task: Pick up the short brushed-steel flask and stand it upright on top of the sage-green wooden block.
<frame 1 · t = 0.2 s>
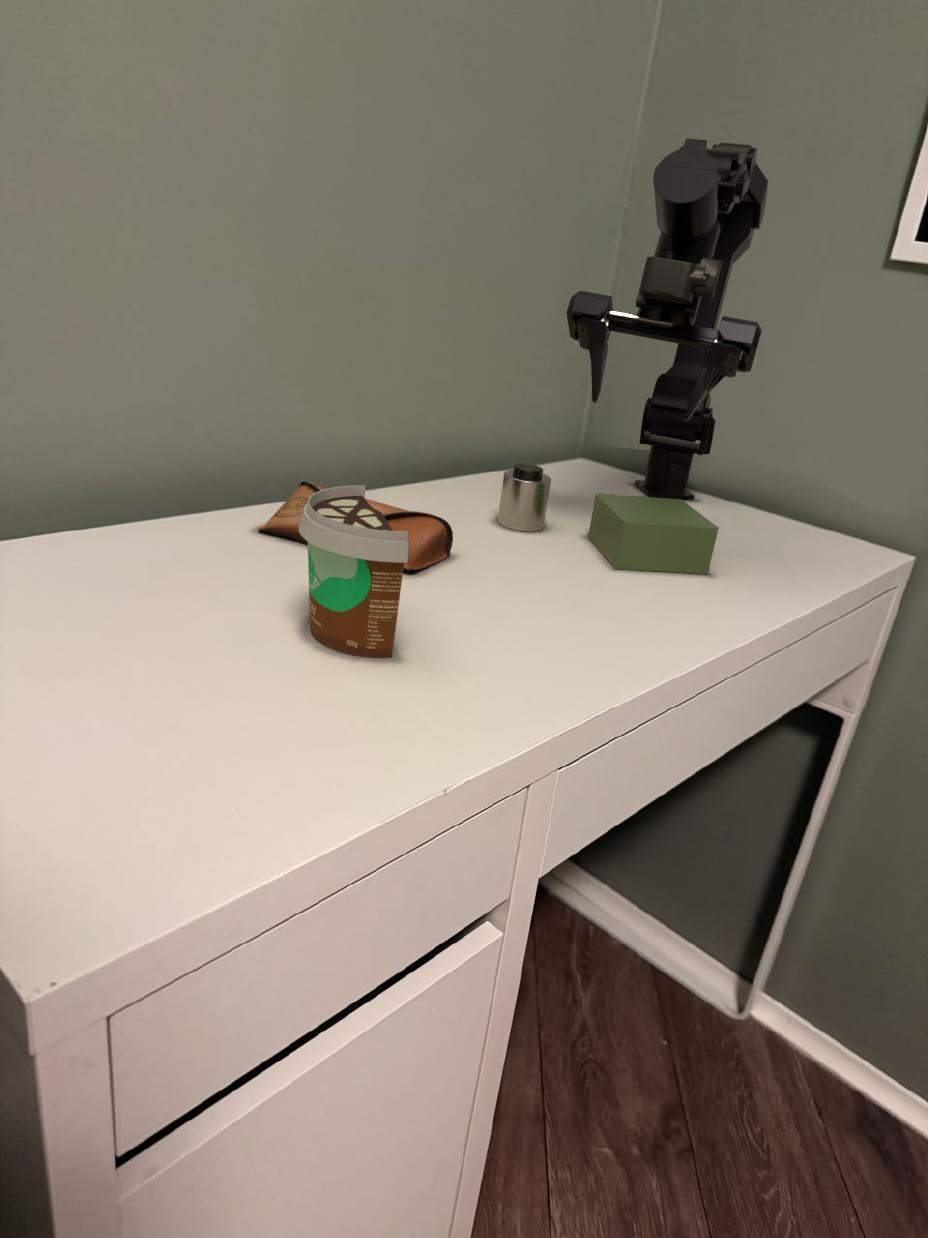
hand: (639, 410, 88), 15 cm above the table, tool tilted 30°, fingers open, 9 cm apart
green block: (645, 554, 95), on the table
flask: (520, 524, 100), on the table
food container: (335, 635, 68), on the table
sunglasses case: (352, 545, 87), on the table
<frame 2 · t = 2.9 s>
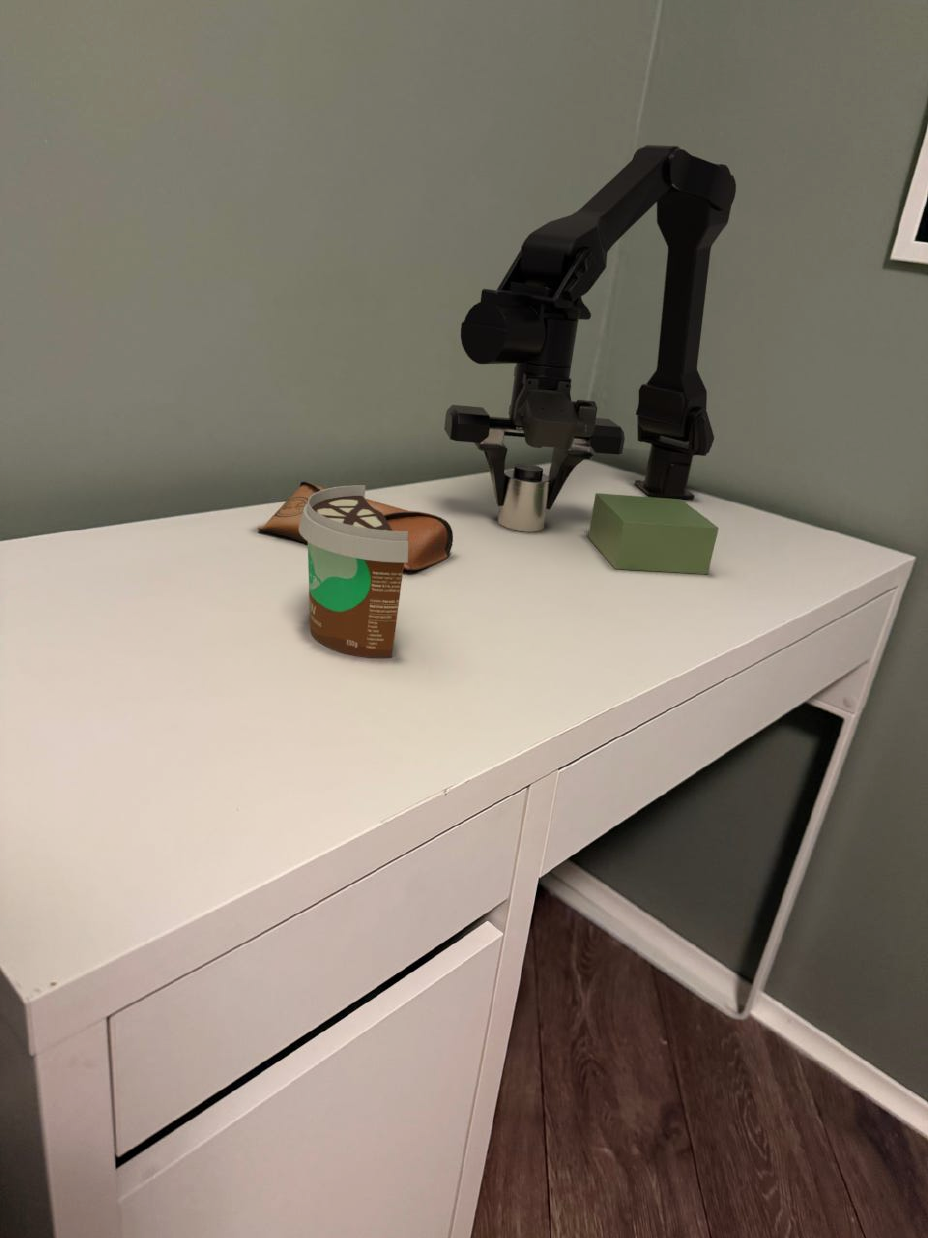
hand: (522, 506, 99), 2 cm above the table, tool pointing down, fingers closed on flask, 5 cm apart
flask: (520, 524, 100), on the table, touching gripper
everything else where it was.
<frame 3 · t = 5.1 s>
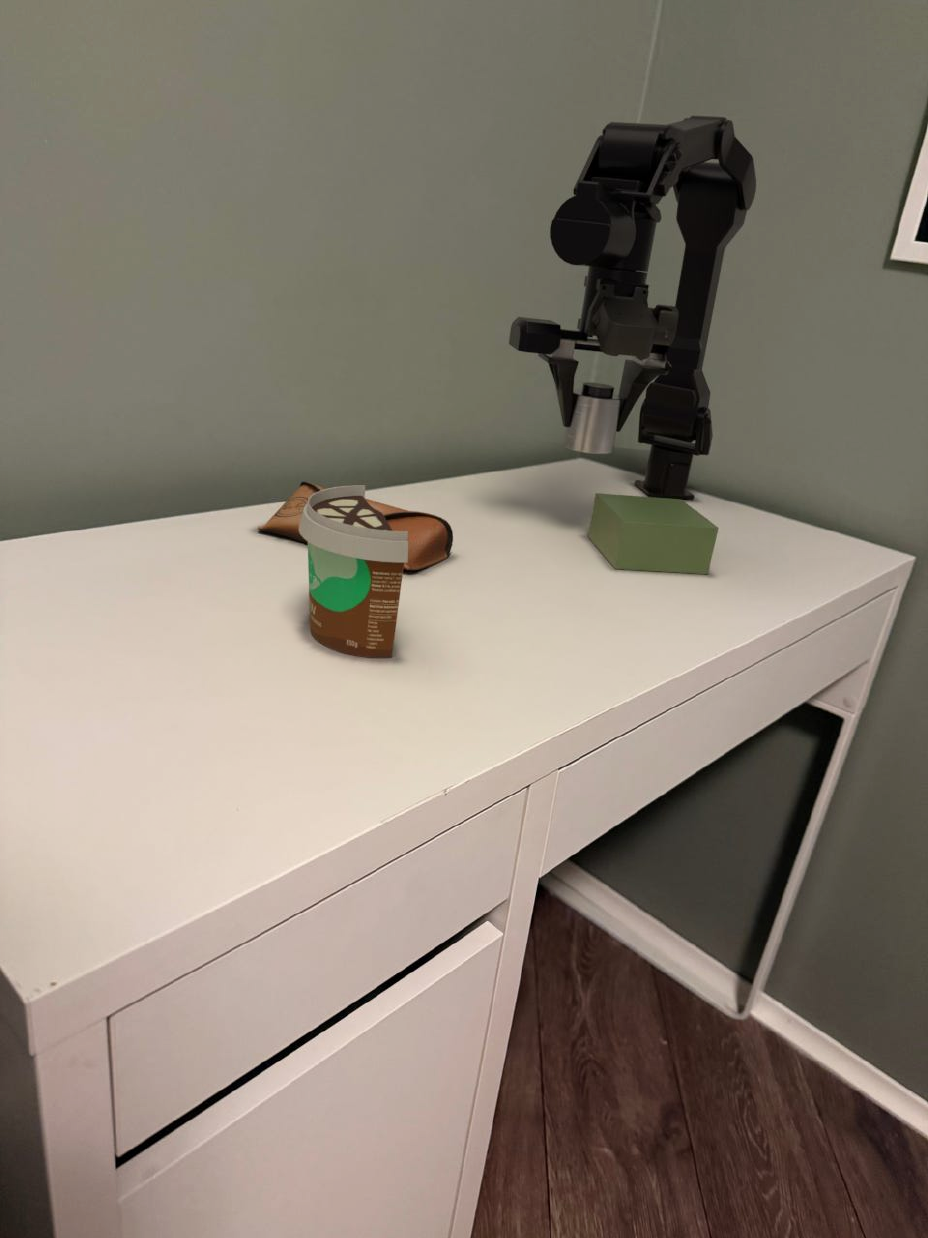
hand: (591, 428, 93), 12 cm above the table, tool pointing down, fingers closed on flask, 5 cm apart
flask: (587, 447, 94), point 10 cm above the table, touching gripper
everything else where it was.
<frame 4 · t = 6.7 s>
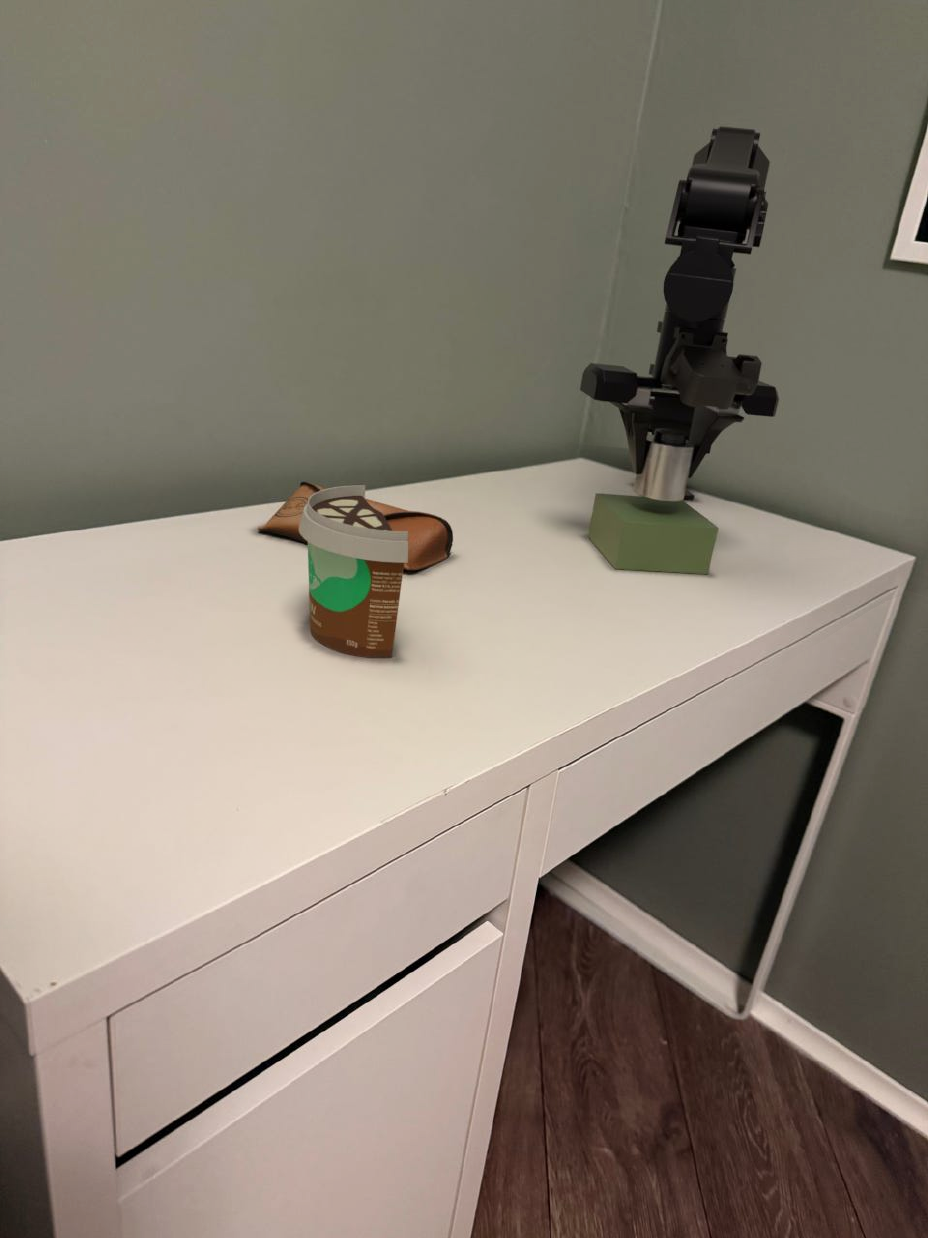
hand: (661, 475, 91), 9 cm above the table, tool pointing down, fingers closed on flask, 5 cm apart
flask: (658, 494, 92), point 7 cm above the table, touching gripper
everything else where it was.
when the fingers open (7 cm above the table, at t = 7.7 s): flask stays where it is, resting on green block.
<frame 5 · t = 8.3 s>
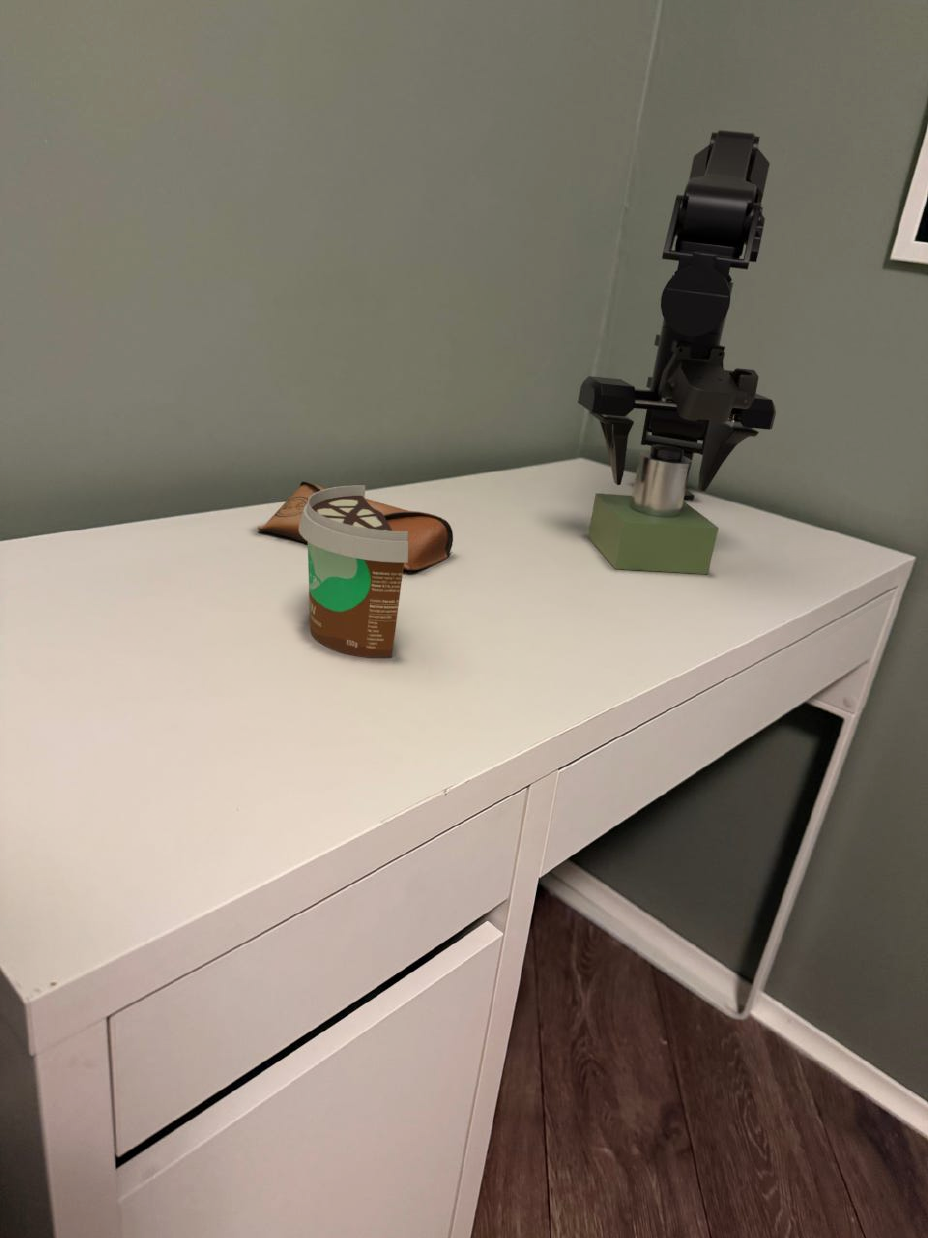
hand: (659, 487, 92), 7 cm above the table, tool pointing down, fingers open, 9 cm apart
flask: (655, 509, 93), point 5 cm above the table, touching green block
everything else where it was.
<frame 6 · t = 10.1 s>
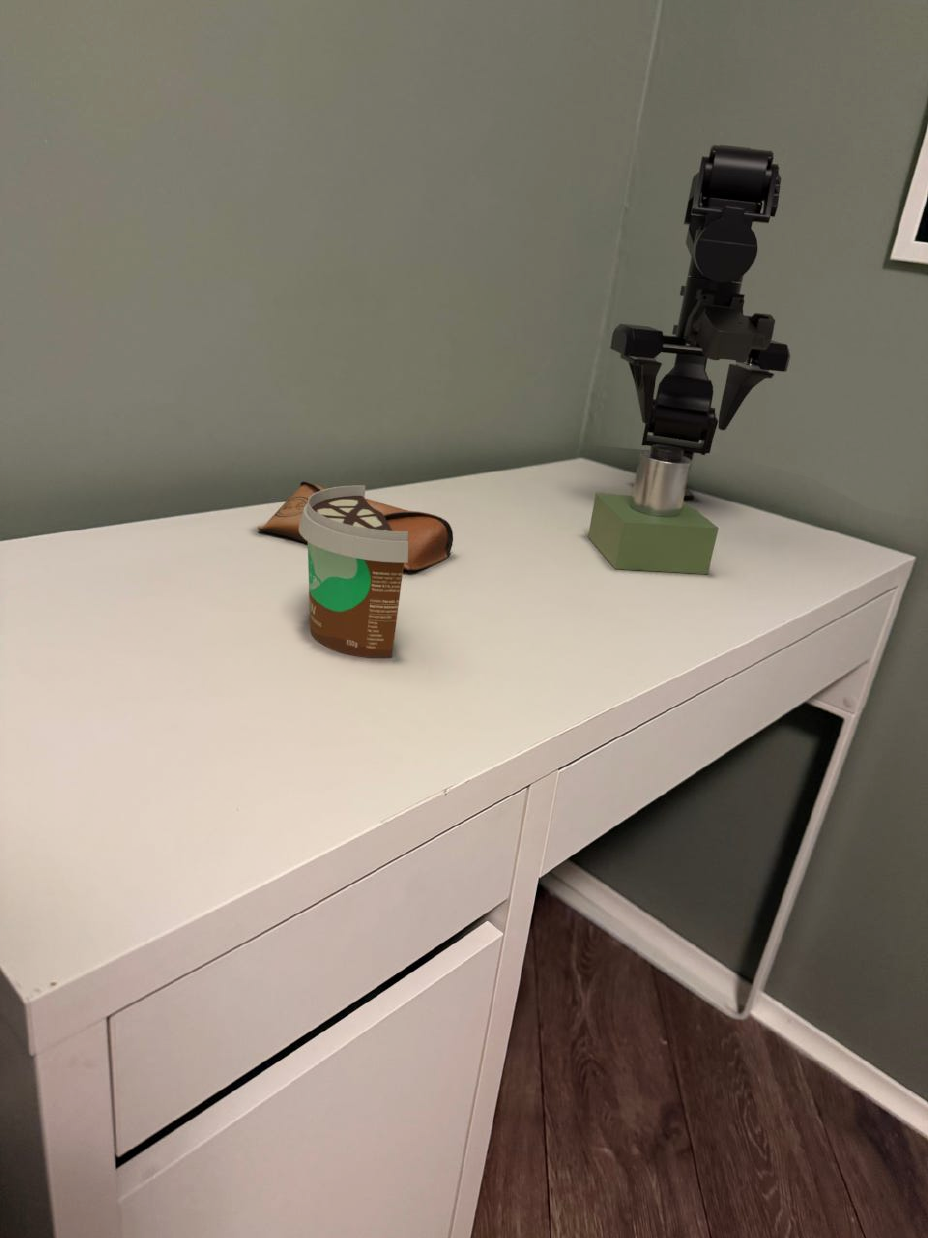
hand: (683, 426, 101), 12 cm above the table, tool pointing down, fingers open, 9 cm apart
nothing on the table moved.
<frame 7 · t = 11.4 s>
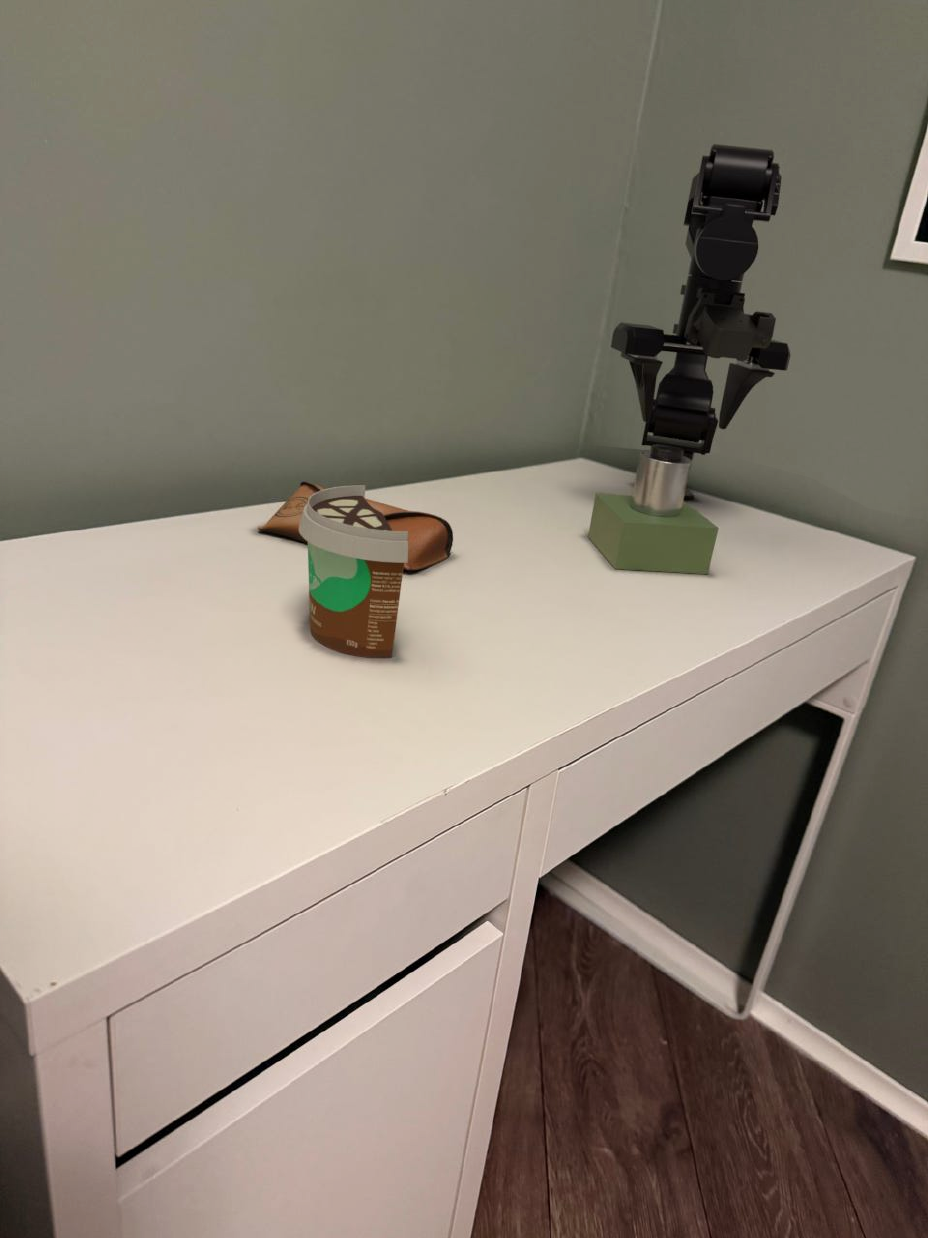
hand: (684, 425, 101), 12 cm above the table, tool pointing down, fingers open, 9 cm apart
nothing on the table moved.
at the end: flask 0.0 cm off-centre on the green block, point 5.0 cm above the green block's base; flask tilted 0°; the gripper is holding nothing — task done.
